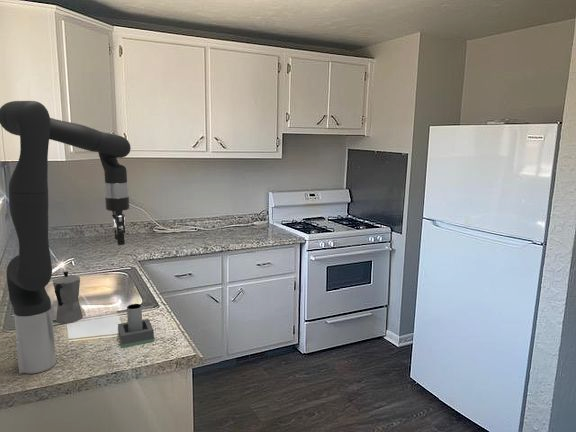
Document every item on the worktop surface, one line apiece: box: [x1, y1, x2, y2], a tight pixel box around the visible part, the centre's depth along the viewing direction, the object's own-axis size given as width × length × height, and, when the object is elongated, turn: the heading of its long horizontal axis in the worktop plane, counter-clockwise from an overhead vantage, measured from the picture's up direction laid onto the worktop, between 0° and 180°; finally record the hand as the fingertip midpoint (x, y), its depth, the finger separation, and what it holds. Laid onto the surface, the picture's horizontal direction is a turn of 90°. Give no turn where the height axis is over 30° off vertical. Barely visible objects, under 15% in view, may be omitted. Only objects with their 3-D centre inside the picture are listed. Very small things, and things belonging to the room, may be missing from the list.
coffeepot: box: [52, 270, 83, 324], centre depth 156 cm, size 15×9×18 cm, turn 6°
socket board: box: [117, 318, 155, 348], centre depth 143 cm, size 10×10×4 cm
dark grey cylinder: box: [126, 303, 143, 333], centre depth 142 cm, size 4×4×10 cm
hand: (119, 242), depth 149 cm, fingers open, 8 cm apart
